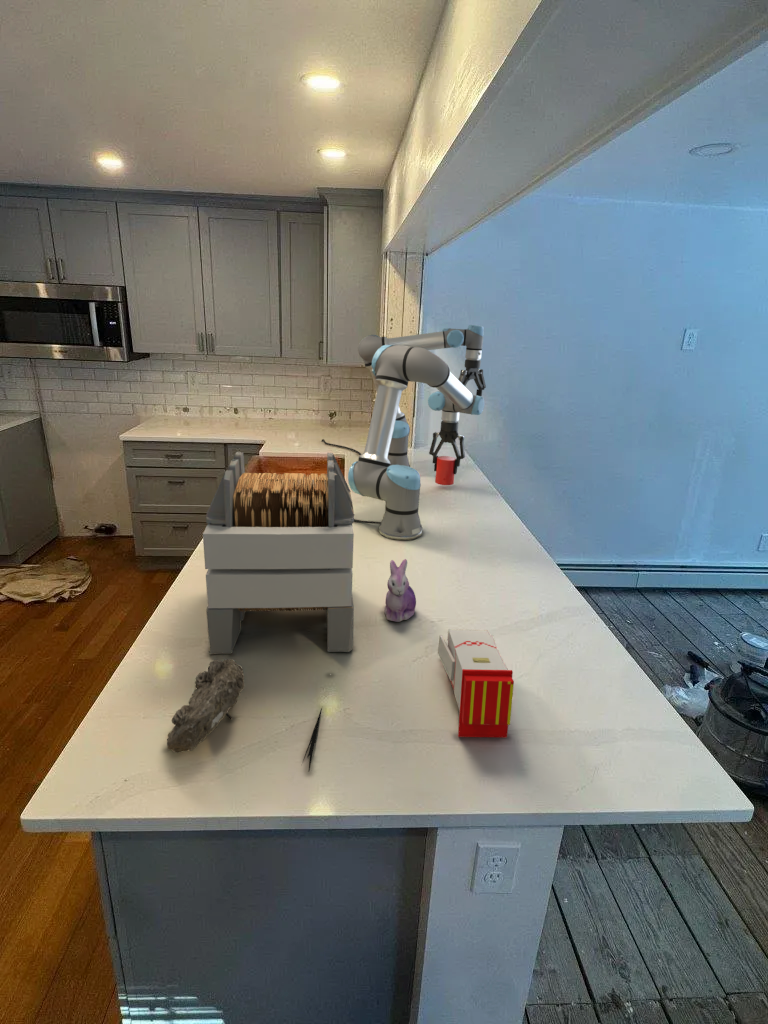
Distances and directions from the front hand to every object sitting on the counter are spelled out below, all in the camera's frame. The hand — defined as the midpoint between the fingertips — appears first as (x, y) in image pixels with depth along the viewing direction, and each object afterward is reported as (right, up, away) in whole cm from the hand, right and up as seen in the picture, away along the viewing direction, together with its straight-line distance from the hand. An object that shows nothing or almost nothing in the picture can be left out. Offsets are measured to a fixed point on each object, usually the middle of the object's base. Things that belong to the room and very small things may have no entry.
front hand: (445, 472), depth 251 cm
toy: (-9, -55, -133) cm, 144 cm away
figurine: (-23, -44, -104) cm, 115 cm away
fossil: (-60, -57, -143) cm, 165 cm away
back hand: (+14, +35, +26) cm, 46 cm away
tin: (0, -5, +2) cm, 5 cm away
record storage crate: (-52, -44, -108) cm, 128 cm away
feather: (-40, -58, -143) cm, 159 cm away
